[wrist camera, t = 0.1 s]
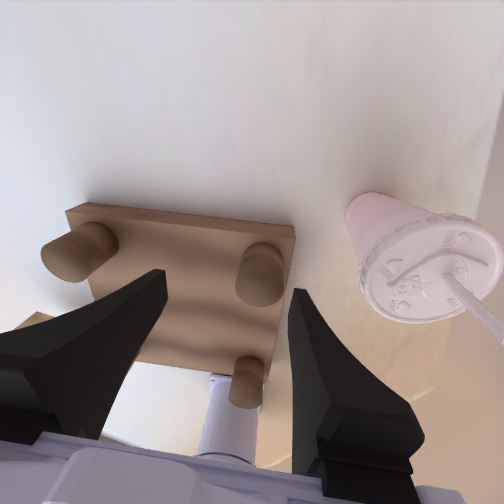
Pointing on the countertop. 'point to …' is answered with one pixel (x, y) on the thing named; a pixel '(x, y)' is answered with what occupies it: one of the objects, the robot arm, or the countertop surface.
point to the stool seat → (188, 284)
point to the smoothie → (423, 261)
